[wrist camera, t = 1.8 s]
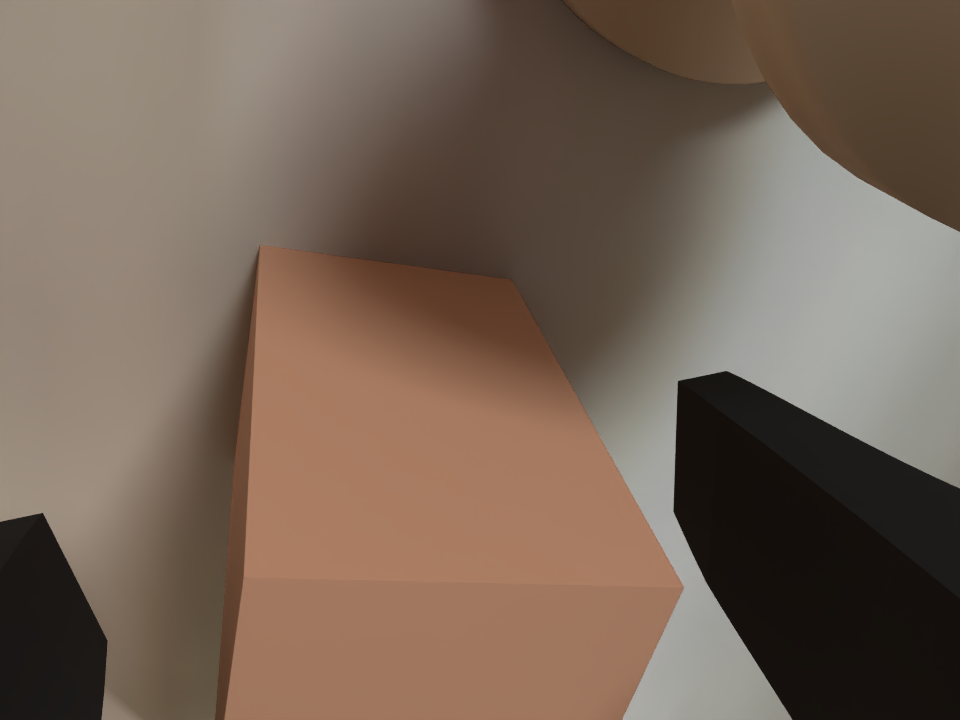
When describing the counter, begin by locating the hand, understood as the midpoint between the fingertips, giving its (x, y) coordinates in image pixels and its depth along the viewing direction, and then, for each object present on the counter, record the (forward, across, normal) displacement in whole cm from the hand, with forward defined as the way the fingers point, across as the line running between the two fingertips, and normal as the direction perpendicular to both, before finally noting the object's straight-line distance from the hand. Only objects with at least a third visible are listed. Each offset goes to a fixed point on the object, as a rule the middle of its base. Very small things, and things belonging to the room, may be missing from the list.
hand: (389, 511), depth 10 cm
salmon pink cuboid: (+3, 0, 0) cm, 3 cm away
